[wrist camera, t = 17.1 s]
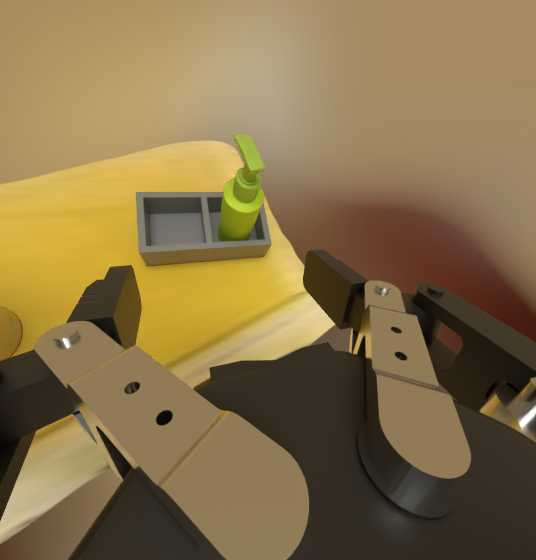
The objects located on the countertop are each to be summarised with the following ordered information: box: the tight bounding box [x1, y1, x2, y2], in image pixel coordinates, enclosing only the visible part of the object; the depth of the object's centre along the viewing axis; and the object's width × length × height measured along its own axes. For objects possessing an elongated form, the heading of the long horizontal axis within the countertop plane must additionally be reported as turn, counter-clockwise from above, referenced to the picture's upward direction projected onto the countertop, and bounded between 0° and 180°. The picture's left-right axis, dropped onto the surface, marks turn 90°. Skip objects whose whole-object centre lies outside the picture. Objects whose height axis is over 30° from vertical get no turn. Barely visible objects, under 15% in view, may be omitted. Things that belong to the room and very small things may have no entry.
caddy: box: [136, 192, 271, 266], centre depth 44 cm, size 21×10×6 cm, turn 101°
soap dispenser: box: [218, 134, 265, 242], centre depth 38 cm, size 6×7×20 cm
